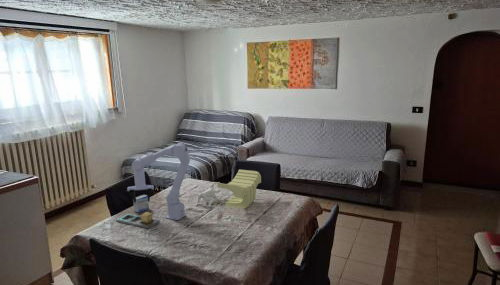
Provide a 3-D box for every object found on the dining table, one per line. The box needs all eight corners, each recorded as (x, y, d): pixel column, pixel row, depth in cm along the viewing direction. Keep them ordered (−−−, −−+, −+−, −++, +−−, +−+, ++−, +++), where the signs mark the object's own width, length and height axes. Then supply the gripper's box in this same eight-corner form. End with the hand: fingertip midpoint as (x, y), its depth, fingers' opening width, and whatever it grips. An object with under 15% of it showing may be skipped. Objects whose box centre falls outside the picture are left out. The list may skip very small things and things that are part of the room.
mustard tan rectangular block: (153, 223, 191) (152, 213, 189) (147, 226, 187) (147, 216, 186) (147, 221, 192) (146, 212, 191) (142, 224, 189) (141, 214, 187)
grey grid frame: (159, 222, 192) (159, 219, 191) (149, 228, 184) (148, 226, 183) (127, 215, 201) (127, 213, 201) (116, 221, 193) (116, 219, 193)
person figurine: (207, 192, 206) (219, 178, 222) (189, 194, 211) (202, 181, 227) (213, 211, 210) (225, 196, 225) (196, 212, 215) (209, 197, 230)
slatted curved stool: (242, 214, 199) (241, 186, 195) (218, 210, 205) (217, 183, 202) (261, 197, 226) (260, 171, 222) (239, 194, 232) (239, 169, 228)
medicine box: (138, 213, 205) (137, 199, 203) (133, 211, 207) (132, 198, 205) (149, 208, 211) (148, 195, 209) (144, 207, 213) (143, 194, 212)
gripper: (153, 176, 198) (155, 198, 201) (128, 178, 196) (130, 200, 199) (152, 180, 191) (154, 202, 194) (125, 181, 189) (128, 204, 192)
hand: (142, 201), depth 196 cm, fingers open, 7 cm apart
